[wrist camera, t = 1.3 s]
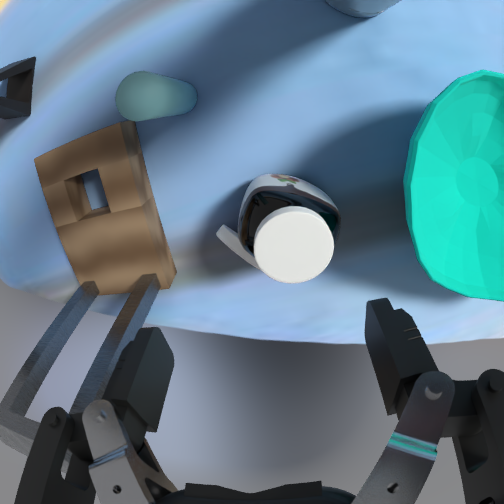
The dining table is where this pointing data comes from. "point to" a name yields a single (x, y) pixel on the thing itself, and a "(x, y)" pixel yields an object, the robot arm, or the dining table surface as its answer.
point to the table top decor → (460, 187)
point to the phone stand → (17, 88)
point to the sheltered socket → (94, 263)
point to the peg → (153, 96)
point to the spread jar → (285, 228)
